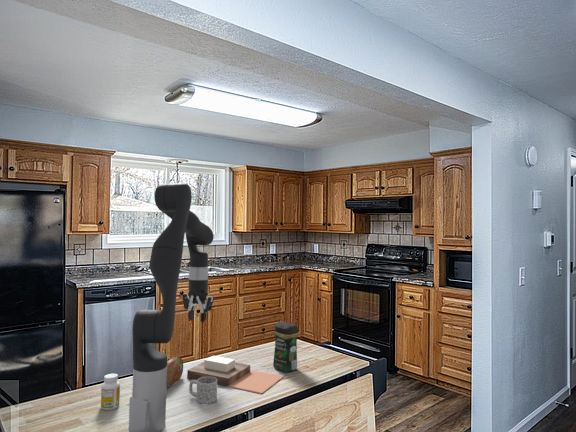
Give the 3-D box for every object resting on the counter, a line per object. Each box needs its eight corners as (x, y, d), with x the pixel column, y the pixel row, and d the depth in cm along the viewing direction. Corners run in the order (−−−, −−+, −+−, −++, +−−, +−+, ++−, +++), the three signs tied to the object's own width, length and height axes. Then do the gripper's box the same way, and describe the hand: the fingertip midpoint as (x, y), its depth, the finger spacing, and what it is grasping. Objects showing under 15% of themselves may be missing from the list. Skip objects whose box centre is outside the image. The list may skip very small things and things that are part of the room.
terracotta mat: (261, 394, 147) (261, 392, 147) (228, 386, 153) (228, 385, 153) (283, 377, 164) (283, 376, 164) (252, 371, 169) (252, 370, 169)
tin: (164, 392, 147) (165, 367, 147) (156, 391, 148) (156, 366, 148) (183, 376, 162) (184, 354, 162) (176, 375, 162) (176, 353, 162)
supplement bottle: (113, 401, 138) (114, 371, 138) (122, 406, 135) (123, 375, 135) (97, 406, 134) (98, 375, 134) (106, 412, 131) (107, 380, 131)
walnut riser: (228, 386, 153) (228, 378, 153) (187, 378, 160) (187, 370, 160) (250, 372, 167) (250, 365, 168) (211, 365, 175) (211, 358, 175)
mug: (220, 398, 143) (220, 378, 143) (210, 405, 137) (210, 385, 137) (194, 393, 147) (195, 373, 147) (183, 400, 140) (184, 380, 140)
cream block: (226, 372, 159) (226, 364, 159) (204, 367, 163) (204, 359, 163) (234, 367, 165) (235, 359, 165) (213, 363, 169) (213, 355, 169)
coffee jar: (269, 367, 174) (271, 322, 174) (283, 363, 180) (284, 319, 180) (286, 374, 167) (288, 326, 167) (300, 369, 173) (301, 323, 173)
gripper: (177, 277, 168) (176, 321, 168) (208, 280, 162) (206, 325, 162) (189, 275, 175) (188, 317, 175) (219, 278, 169) (217, 321, 169)
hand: (197, 321), depth 169 cm, fingers open, 5 cm apart
